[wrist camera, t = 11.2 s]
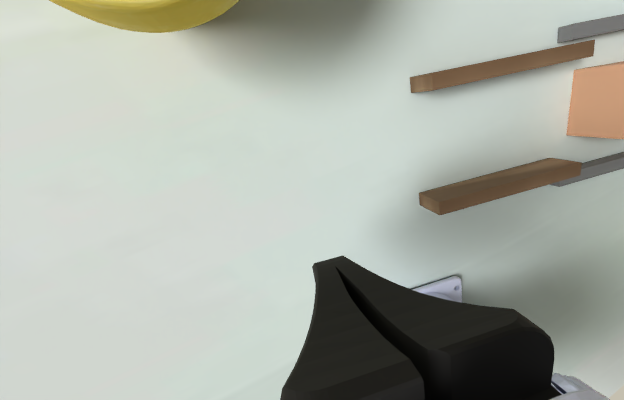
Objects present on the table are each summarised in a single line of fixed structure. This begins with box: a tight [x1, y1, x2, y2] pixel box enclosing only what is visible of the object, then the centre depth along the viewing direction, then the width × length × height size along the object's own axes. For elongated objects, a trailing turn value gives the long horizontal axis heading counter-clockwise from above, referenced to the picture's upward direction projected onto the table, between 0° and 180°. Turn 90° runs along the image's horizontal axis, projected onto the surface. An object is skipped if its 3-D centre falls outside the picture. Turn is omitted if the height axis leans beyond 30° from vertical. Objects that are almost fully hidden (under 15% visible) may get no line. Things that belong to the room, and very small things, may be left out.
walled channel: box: [410, 40, 595, 215], centre depth 21 cm, size 9×12×2 cm
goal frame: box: [550, 14, 624, 187], centre depth 24 cm, size 12×12×1 cm
